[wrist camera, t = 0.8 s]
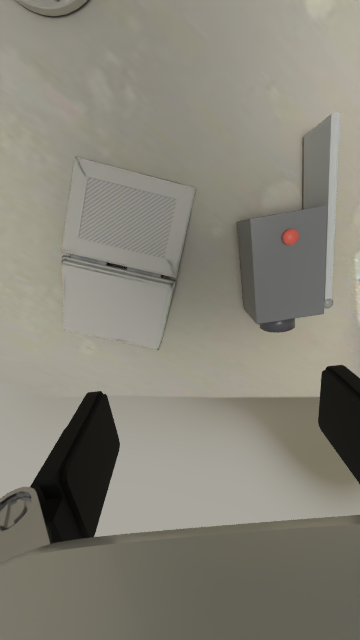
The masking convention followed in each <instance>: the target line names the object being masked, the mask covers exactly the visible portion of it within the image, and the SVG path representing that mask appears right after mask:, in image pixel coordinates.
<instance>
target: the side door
mask: <svg viewBox="0 0 360 640" xmlns="http://www.w3.org/2000/svg"><path fill="white" fill-rule="evenodd" d="M339 124H340V112H339V113H334V114H331V115H330V116H328V117H327V118H326V119H325V120H323V121H322V122H321V123H320V124H318V125H317V126H316V127H315V128H314V129H312V130H311V131H310V132H309V133H307V134H306V135H305V136H304V189H303V210H304V209H310V208H315V207H321V206H327V205H328V209H327V238H326V267H325V296H324V308H330V307H331V306H332V305H333V300H332V281H333V259H334V237H335V214H336V192H337V169H338V147H339Z"/></svg>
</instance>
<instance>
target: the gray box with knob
mask: <svg viewBox="0 0 360 640" xmlns="http://www.w3.org/2000/svg"><path fill="white" fill-rule="evenodd" d="M327 209H328V205H327V206H321V207H315V208H310V209H304V210H298V211H292V212H287V213H281V214H275V215H270V216H264V217H258V218H253V219H248V220H244V221H239V222H237V230H238V242H239V255H240V267H241V280H242V292H243V304H244V309H245V311H246V312H247V313H248V314H249V315H250V316H251V318H252V319H253V320H254V321H255V322H256V323H257V324H260V328H261V329H262V330H264V331H268V332H286V331H289V330H292V329H293V328H294V327H295V318H300V317H307V316H313V315H320V314H324V296H325V267H326V238H327Z"/></svg>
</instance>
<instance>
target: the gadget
mask: <svg viewBox="0 0 360 640" xmlns="http://www.w3.org/2000/svg"><path fill="white" fill-rule="evenodd" d="M195 191H196V189H194V187H190V186H186V185H182V184H179V183H175V182H171V181H167V180H163V179H159V178H156V177H152V176H148V175H144V174H140V173H136V172H133V171H129V170H125V169H121V168H117V167H113V166H109V165H106V164H102V163H98V162H94V161H90V160H86V159H83V158H79V157H75V160H74V167H73V174H72V181H71V187H70V194H69V201H68V208H67V215H66V221H65V228H64V235H63V242H62V248H61V250H63V251H62V252H65V253H69V254H72V255H71V257H69V256H65V255H64V256H62V287H63V316H64V330H65V331H70V332H75V333H79V334H84V335H89V336H94V337H99V338H104V339H108V340H113V341H118V342H123V343H128V344H133V345H137V346H142V347H147V348H152V349H157V350H158V349H159V345H160V342H162V338H163V334H164V329H165V325H166V321H167V316H168V312H169V308H170V303H171V299H172V294H173V290H174V286H175V281H173V280H169V279H165V278H161V275H165V276H169V277H174V278H176V277H177V272H178V268H179V263H180V259H181V254H182V250H183V245H184V241H185V236H186V232H187V227H188V223H189V218H190V214H191V209H192V205H193V200H194V196H195ZM107 262H108V263H113V264H117V265H121V266H126V267H127V270H126V269H121V268H117V267H112V266H108V265H107Z"/></svg>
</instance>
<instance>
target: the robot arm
mask: <svg viewBox="0 0 360 640" xmlns="http://www.w3.org/2000/svg"><path fill="white" fill-rule="evenodd" d="M16 1H17V2H18V3H19V4H21V5H23V6H24V7H26V8H27V9H29V10H31V11H33V12H36V13H39V14H42V15H48V16H59V15H65V14H68V13H70V12H72V11H74V10H77V9H78V8H79V7H80V6H82V5H83V4H84V3H85V2H86V1H87V0H16ZM318 423H319V427H320V429H321V430H322V432H323V433H324V435H325V436H326V437H327V439H328V440H329V442H330V443H331V445H332V446H333V447H334V449H335V450H336V452H337V453H338V454H339V456H340V457H341V458H342V460H343V461H344V463H345V464H346V465H347V467H348V468H349V470H350V471H351V472H352V474H353V475H354V477H355V478H356V479H357V481H358V482H359V484H360V378H359V377H357V376H356V375H355V374H354V373H352V372H351V371H350V370H349V369H348V368H346V367H345V366H343V365H336V366H328V367H326V370H324V371H323V372H322V378H321V392H320V405H319V418H318ZM119 446H120V443H119V438H118V434H117V430H116V427H115V423H114V419H113V416H112V413H111V408H110V405H109V401H108V398H107V395H106V394H103V393H102V392H101V391H98V392H89V393H87V394H86V396H85V397H84V399H83V401H82V403H81V404H80V406H79V407H78V409H77V411H76V413H75V414H74V416H73V418H72V419H71V421H70V423H69V425H68V426H67V427H66V428H65V430H64V431H63V433H62V434H61V436H60V438H59V440H58V441H57V443H56V444H55V446H54V448H53V450H52V451H51V453H50V455H49V456H48V458H47V460H46V461H45V463H44V465H43V466H42V468H41V470H40V471H39V473H38V475H37V476H36V478H35V480H34V481H33V483H32V485H31V486H30V487H21V488H18V489H15V490H13V491H11V492H9V493H7V494H6V495H5V496H3V497H2V498H0V640H360V515H353V516H339V517H325V518H312V519H299V520H287V521H274V522H260V523H248V524H236V525H223V526H212V527H199V528H187V529H176V530H164V531H153V532H141V533H130V534H121V535H112V536H102V537H94V535H95V532H96V528H97V525H98V521H99V518H100V515H101V511H102V507H103V504H104V500H105V497H106V494H107V490H108V487H109V483H110V480H111V476H112V473H113V469H114V466H115V462H116V459H117V456H118V452H119Z"/></svg>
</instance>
